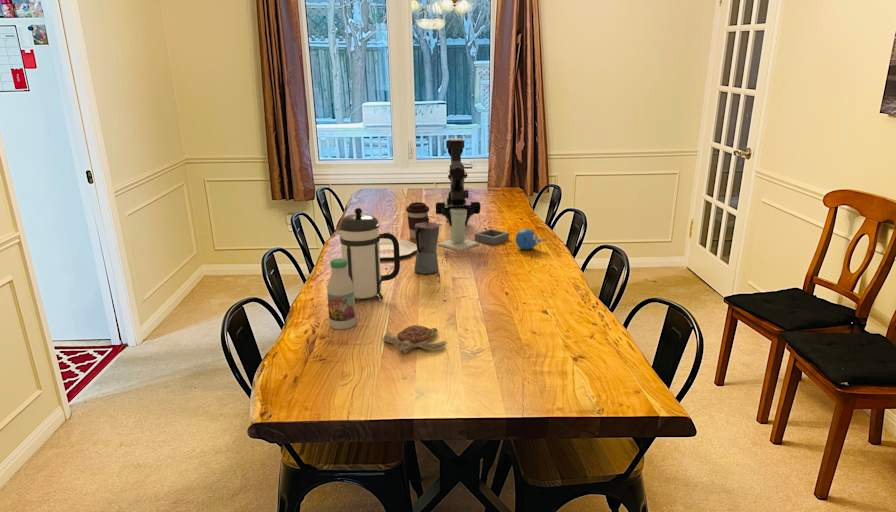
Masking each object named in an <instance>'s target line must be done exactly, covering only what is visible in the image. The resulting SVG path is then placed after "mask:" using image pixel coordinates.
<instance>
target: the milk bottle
mask: <svg viewBox="0 0 896 512" xmlns="http://www.w3.org/2000/svg"><path fill="white" fill-rule="evenodd" d="M329 266H330V269H331V274H330V277H329V279H328V282H327V289H326V290H327V292H326V293H327V296H326V297H327V307H328V309H327V310H328V318H329V319H328V320H329V322H328V323H329V326H330V327H331V328H332V329H335V330H348V329H351V328H353V327H355V325H356V324H357V311H356V300H355V296H354V287H353V283H352V281H351V279H350V277H349V275H348V273H347V269H346V268H347V261H346V259H342V257H339V258H334V259H331V260H330V265H329Z"/></svg>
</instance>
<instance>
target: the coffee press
mask: <svg viewBox="0 0 896 512" xmlns="http://www.w3.org/2000/svg"><path fill="white" fill-rule="evenodd" d="M380 224H381V223H380V221H378V219H377V217H376V216H374V215H372V214H369V213H363V210H362V209H361V208H360V207H357V208H355V209H354V214H348V215H346V216H344V217H343V218H342V219H341V220H340V221H339V224H338V227H337V229H336V230H335V233H334V236H339V243H340V246H341V247H340V249H341V258H342V259H346V261H347V268H346V269H347V273H348V275H349V277H350V279H351V281H352V283H353V287H354V296H355V301H356V300H357V299H362V300H363V299H370V298H373V297H374V298H375V299H376V300H377V301H379V302H380V301H383V300H384V296H383V294H382V293H381V291H382V282H385V281H391V280H393V279H395V278H396V277H397V276H398V275H399V272H400V269H401V268H400V267H401V260H400V258H401V257H400V253H399V243H398V240H397V239H398V238H397V237H396V236H395V235H394V234H392V233H389V232H383V233H380V232H379V227H380ZM380 239H390V240H391V241H392V242H393V247H394V250H393V252H394V259H393V264H394V265H393V266H394V267H393V270H392V272H391V273H389V274H384V275H382V274H381V273H382V272H381V259H380V253H381V252H380V251H381V250H379V241H380Z"/></svg>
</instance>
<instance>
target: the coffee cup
mask: <svg viewBox="0 0 896 512" xmlns="http://www.w3.org/2000/svg"><path fill="white" fill-rule="evenodd" d="M405 210H406V212H407V222H408V230H409V237H410V238H411V239H412V240H413V239H414V240H416V235H415V224H417V223H422V222H426V220H425V218H429V215H428V214H429V213H428V212H429V211H430V207H429V205H426V202H421V201H420V202H419V201H418V202H417V201H416V202H410V204H409V205H408V206H407V207H406V209H405Z"/></svg>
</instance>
